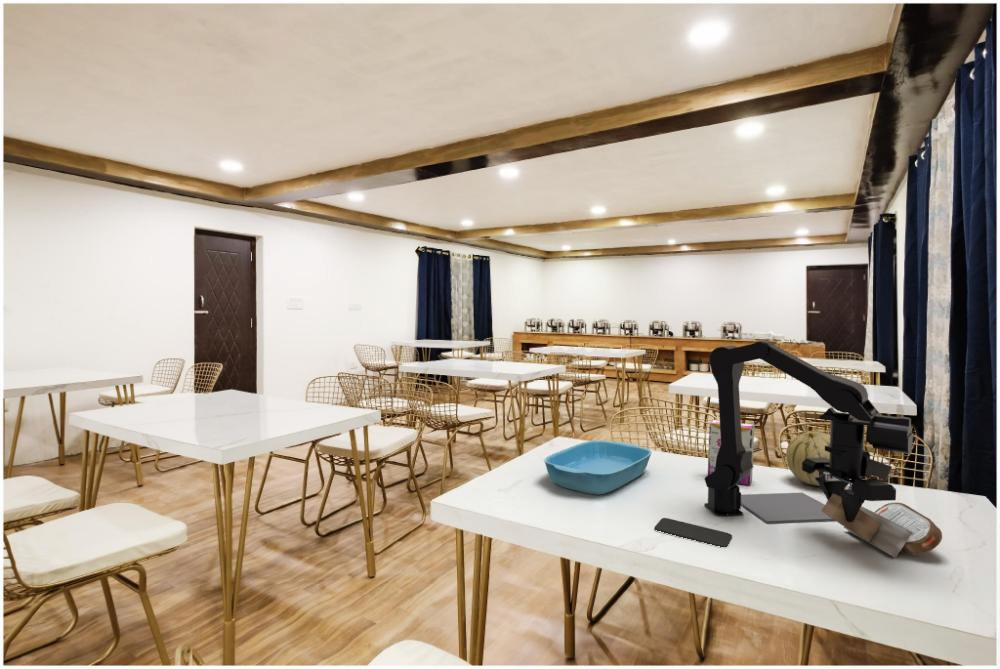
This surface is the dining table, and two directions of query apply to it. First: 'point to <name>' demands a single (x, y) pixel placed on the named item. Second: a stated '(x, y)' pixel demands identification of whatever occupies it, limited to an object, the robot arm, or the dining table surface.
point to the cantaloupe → (806, 454)
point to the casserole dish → (597, 465)
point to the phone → (693, 532)
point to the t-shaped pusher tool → (869, 527)
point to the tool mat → (784, 507)
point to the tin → (913, 527)
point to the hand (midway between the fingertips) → (843, 518)
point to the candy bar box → (715, 443)
